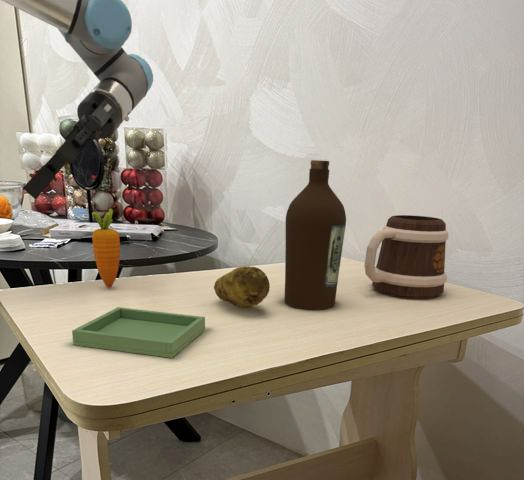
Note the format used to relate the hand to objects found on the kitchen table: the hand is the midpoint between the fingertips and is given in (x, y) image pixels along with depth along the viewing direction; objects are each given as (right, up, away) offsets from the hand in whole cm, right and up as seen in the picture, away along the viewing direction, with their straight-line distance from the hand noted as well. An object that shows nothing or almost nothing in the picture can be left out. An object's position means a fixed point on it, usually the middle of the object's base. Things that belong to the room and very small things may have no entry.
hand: (45, 176), depth 88 cm
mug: (+65, -18, +20) cm, 70 cm away
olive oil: (+45, -21, +9) cm, 51 cm away
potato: (+33, -22, +4) cm, 40 cm away
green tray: (+19, -27, -12) cm, 36 cm away
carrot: (+7, -17, +14) cm, 23 cm away
